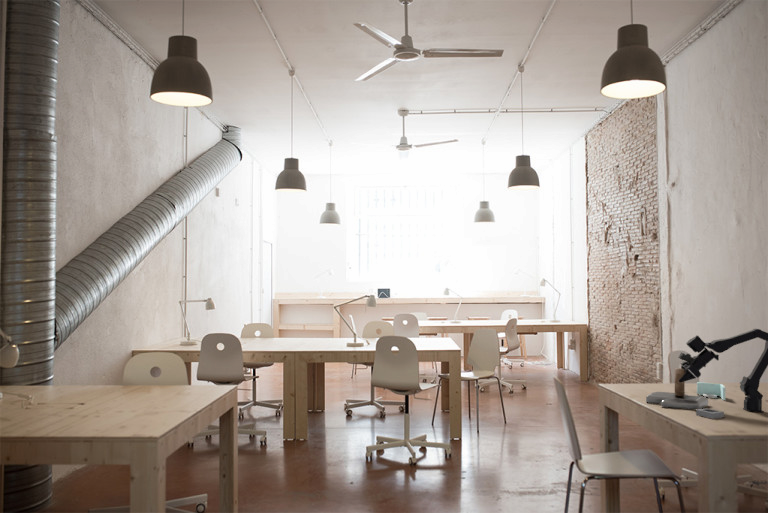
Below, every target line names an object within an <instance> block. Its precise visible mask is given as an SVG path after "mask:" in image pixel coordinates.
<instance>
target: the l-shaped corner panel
mask: <svg viewBox="0 0 768 513" xmlns="http://www.w3.org/2000/svg"><path fill="white" fill-rule="evenodd" d="M697 394H700V395H699V396H701V395H703V396H704V397H708V398H707V399H709V398H710V399H711V398H715V399H717V398H718V397H717V396H720V397H721V398H722V399H723V400H725V401H726V387H725V385H723V383H712V382H699V381H697V382H696V395H697ZM703 396H702V397H703ZM720 397H719V398H720ZM721 398H720V399H721ZM722 399H721V400H722ZM723 400H722V401H723Z"/></svg>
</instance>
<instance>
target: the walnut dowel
mask: <svg viewBox="0 0 768 513" xmlns="http://www.w3.org/2000/svg"><path fill="white" fill-rule="evenodd" d="M683 375H684V369H681V367H680V368H679V367H675V368H674V393H675V395H677V396H685V394H686V393H685V387H686V386H685V385H686V384H685V382H686V381H684V382H681V383H680V382H679V380H680V378H681V377H682V376H683Z"/></svg>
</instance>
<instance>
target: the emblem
mask: <svg viewBox="0 0 768 513" xmlns="http://www.w3.org/2000/svg"><path fill="white" fill-rule="evenodd" d="M646 402H648V403H647V404H652V403H660V404H659V406H661V408H665V407H673V408H672V409H679V408H683V409H684V410H692V409H702V408H703V407H705V406H707V405H708V406H709V398H705V397H703V396H701V395H689V394H686V393H685V396H677V395H675V392H669V391H668V392H666V391H656V392H655V391H654V392H651V393H649V394H648V395H646V396H645V403H646ZM708 406H707V407H708ZM705 408H706V407H705ZM683 409H682V410H683ZM703 409H704V408H703Z"/></svg>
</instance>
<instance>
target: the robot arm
mask: <svg viewBox="0 0 768 513" xmlns="http://www.w3.org/2000/svg"><path fill="white" fill-rule="evenodd" d="M757 338H758V339H761V340H764V341H765V343H764V348H763V349H764V350H763V351H762V353H761V355H760V357H759V358H758V360H757V362H756V363H755V366H754V367H753V369H752V371H751V373H750V374H749V375H748V376H743V377H742V379H741V381H740V382H739V388H740V391H742V393H744V395H745V396H744V400H743V408H742V410H745V409H746V410H745V411H747V410H748V412H750V411H761V412H760V413H764V412H765V410H762V409H763V407H762V406H763V397H764V395H763V394H762V393H761V392H760V391H759V387H760V381H761V379H762V376H763V375H764V373H765V372H766V370H767V368H768V332H766V331H764V330H762V329H759V328H753V329H752V330H748V331H746V332H742V333H739V334H737V335H734V336H730V337H727V338H719V339H713V340H712V341H710V342H704V341H703V339H702V338H701V337H700V336H699V335H695V336H693V337H692V338H690V339H689V340H688V341H687V342H686V343H685V345H687V347H689V349H691V350H692V351H693V352H694V353H698V354H697V355H693V356H692V355H691V354H690V353H688V352H687V353H683V352H680V354H679V355H678V359H680V360H682V362H681V363H680V368H681V369H684V375H683V376H682V377H681V378H680V380H679V382H680V383H681V382H684V381H685V382H686V381H691V380H694V379H695V380H696V379H698V378H700V377H701V375H702V373H701V370H702V369H703V368H706V366H707V365H708V363H710V362H711V361H712V360H713V359H714V360H715V361H719V356H720V355H719V354H721V353H722V354H723V353H724V352H726V351H727V350H730V349H731V348H732V347H734V346H736V345H739V344H743V343H745V342H750V341H751V340H754V339H757ZM709 349H710V350H709ZM714 352H716V353H717V354H716V353H714Z"/></svg>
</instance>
